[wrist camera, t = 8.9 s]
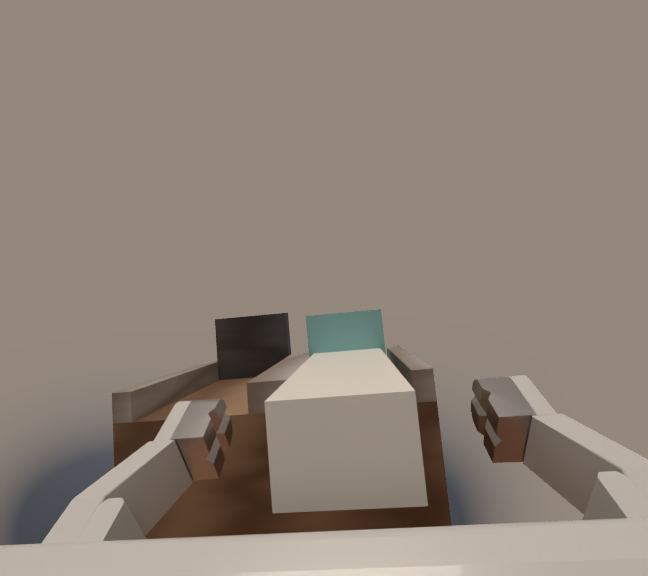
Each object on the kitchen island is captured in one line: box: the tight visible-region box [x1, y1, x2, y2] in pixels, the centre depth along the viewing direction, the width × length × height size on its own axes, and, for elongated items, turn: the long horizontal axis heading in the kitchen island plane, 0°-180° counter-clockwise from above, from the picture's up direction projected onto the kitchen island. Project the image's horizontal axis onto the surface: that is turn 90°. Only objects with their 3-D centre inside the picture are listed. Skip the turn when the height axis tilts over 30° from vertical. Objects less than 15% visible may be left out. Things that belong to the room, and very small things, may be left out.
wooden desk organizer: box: [112, 313, 451, 539], centre depth 21 cm, size 16×12×31 cm
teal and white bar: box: [264, 310, 428, 513], centre depth 18 cm, size 4×20×4 cm, turn 175°
